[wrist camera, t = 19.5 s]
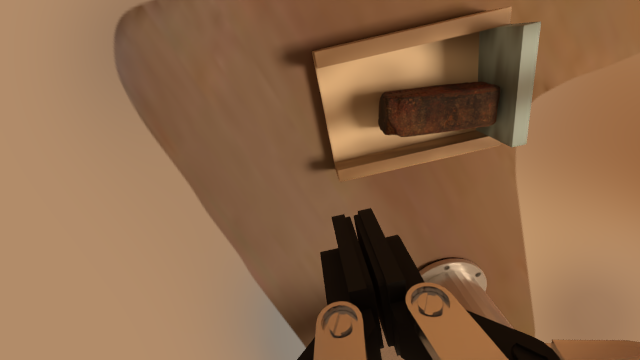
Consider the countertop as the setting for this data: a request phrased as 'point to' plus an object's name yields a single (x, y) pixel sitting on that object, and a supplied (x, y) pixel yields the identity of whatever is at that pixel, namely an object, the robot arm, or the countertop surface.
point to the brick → (438, 108)
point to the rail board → (423, 71)
